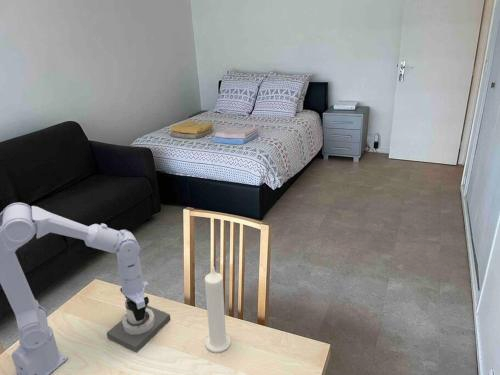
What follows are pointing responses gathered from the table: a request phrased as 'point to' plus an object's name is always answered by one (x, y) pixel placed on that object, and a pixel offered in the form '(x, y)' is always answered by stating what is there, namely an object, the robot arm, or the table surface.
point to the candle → (216, 313)
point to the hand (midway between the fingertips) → (137, 313)
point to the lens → (132, 316)
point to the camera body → (138, 329)
